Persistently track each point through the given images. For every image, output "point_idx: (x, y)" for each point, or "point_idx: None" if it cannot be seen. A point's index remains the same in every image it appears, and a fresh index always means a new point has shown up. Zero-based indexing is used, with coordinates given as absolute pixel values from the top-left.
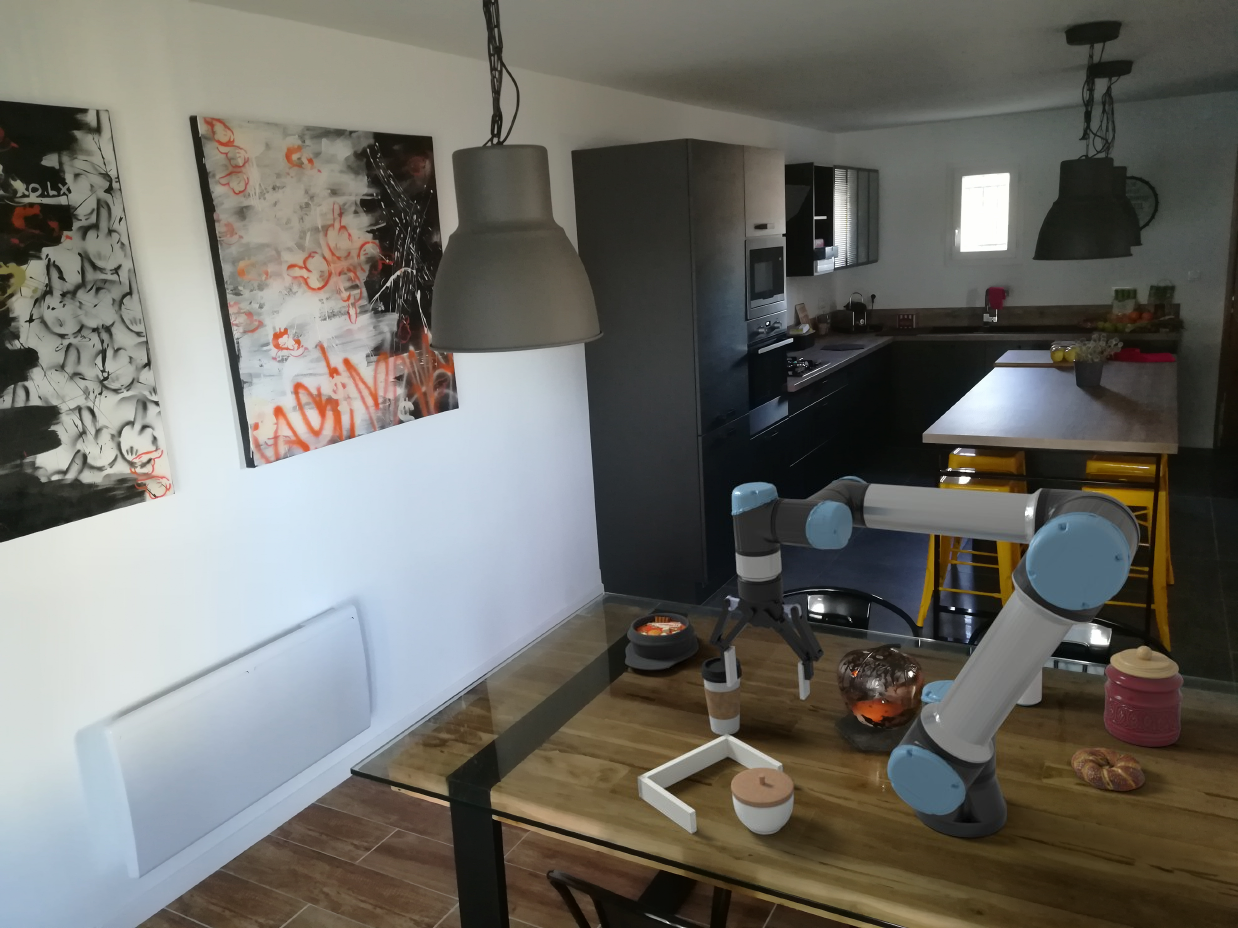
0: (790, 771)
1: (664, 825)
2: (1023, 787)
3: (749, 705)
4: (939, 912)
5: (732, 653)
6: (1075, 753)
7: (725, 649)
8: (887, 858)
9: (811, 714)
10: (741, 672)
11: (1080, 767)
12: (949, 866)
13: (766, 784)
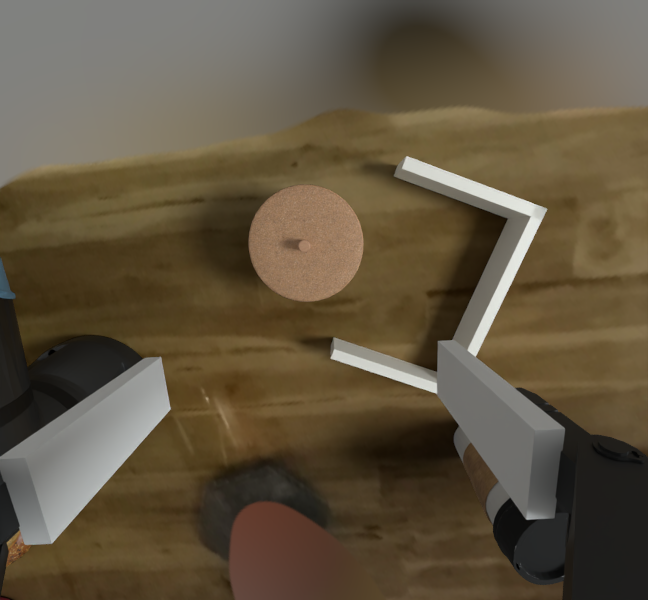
0: (334, 376)
1: (446, 162)
2: None
3: (466, 505)
4: (30, 181)
5: (508, 461)
6: (19, 550)
7: (570, 456)
8: (131, 252)
9: (370, 517)
10: (497, 540)
11: None
12: (61, 275)
13: (296, 246)
